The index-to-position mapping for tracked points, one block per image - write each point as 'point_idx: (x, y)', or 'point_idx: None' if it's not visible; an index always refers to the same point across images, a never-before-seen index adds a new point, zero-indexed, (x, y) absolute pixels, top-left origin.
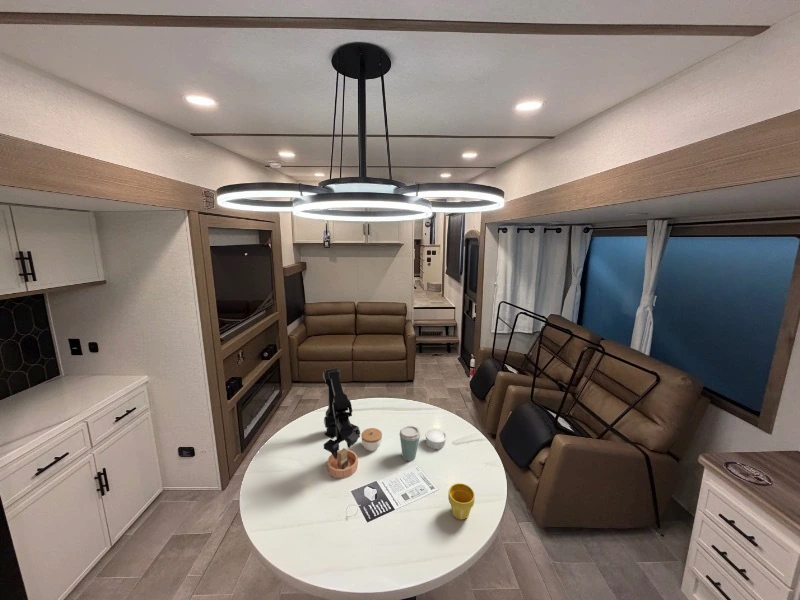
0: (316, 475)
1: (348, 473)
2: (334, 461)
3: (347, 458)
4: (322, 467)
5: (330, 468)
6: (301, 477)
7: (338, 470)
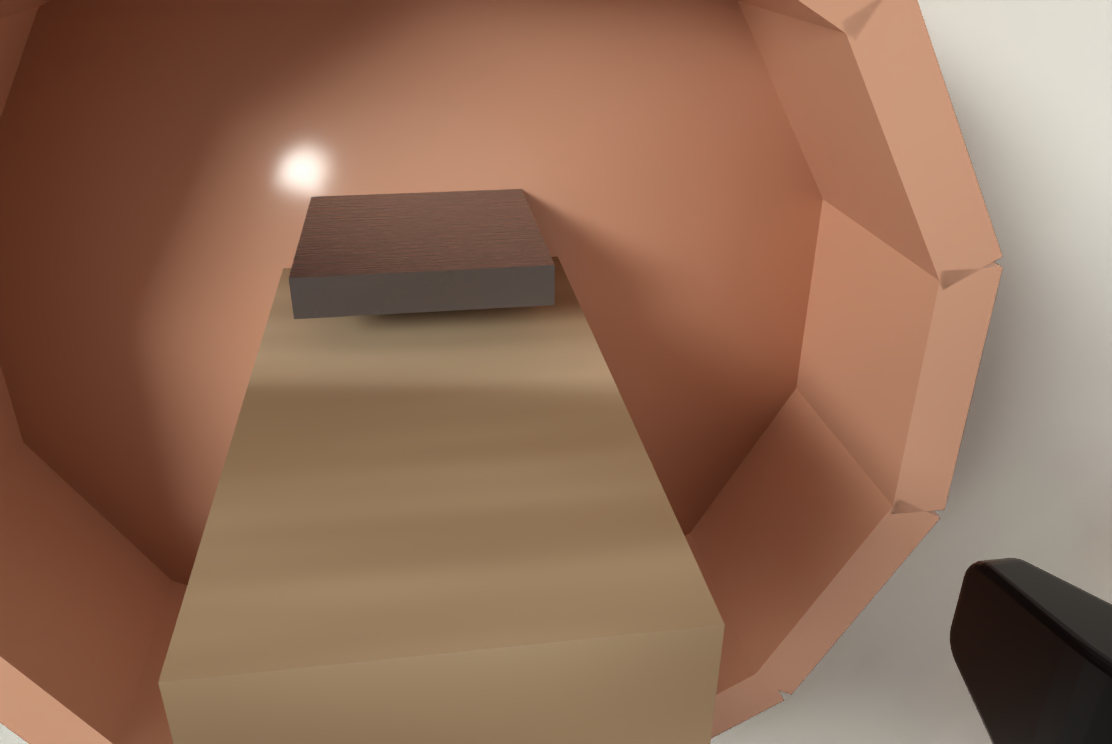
0: (956, 571)
1: None
2: None
3: (100, 429)
4: None
5: (935, 459)
6: None
7: (967, 167)
